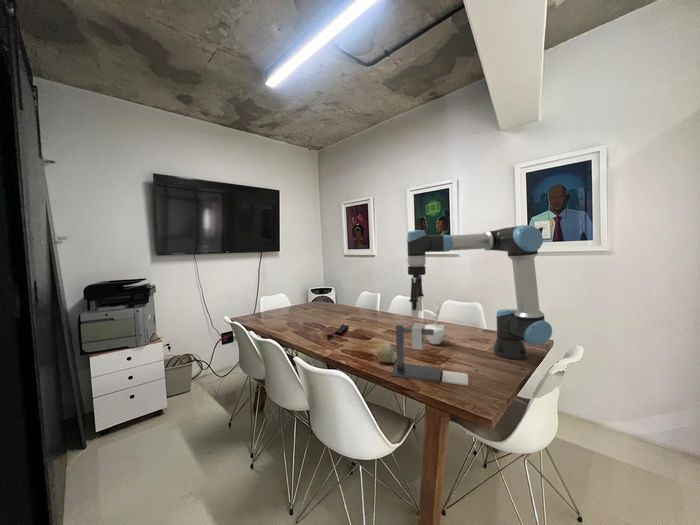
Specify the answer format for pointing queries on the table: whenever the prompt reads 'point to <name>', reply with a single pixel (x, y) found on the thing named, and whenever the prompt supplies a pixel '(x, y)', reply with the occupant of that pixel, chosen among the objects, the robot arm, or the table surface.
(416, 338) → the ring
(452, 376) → the pad
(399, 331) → the stand
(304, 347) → the table surface
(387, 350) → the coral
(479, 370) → the table surface
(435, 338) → the potted plant
